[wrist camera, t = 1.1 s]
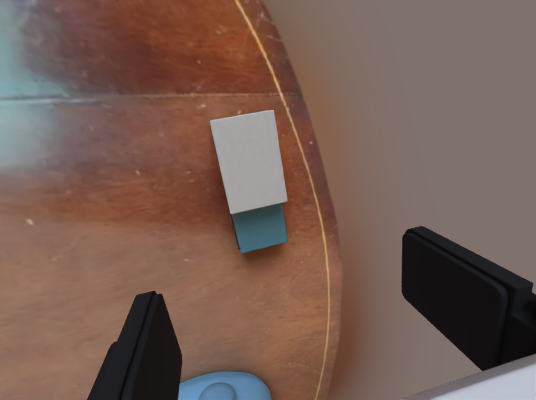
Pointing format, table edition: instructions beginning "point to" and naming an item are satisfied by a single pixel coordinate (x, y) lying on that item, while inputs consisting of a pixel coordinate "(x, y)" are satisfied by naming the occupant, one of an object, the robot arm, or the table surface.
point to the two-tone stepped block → (252, 177)
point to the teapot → (224, 387)
